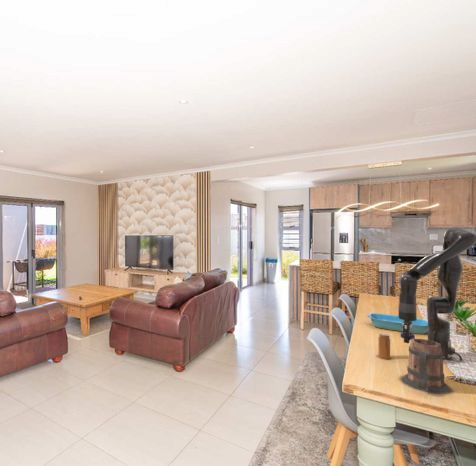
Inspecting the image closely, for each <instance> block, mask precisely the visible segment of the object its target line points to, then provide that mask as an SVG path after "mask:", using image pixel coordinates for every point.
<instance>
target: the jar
mask: <svg viewBox="0 0 476 466" xmlns="http://www.w3.org/2000/svg"><path fill="white" fill-rule="evenodd" d="M378 358H380V359H382V360H390V359H391V337H390V334H389V333H385V332H384V333H383V332H381V333H379V334H378Z"/></svg>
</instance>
